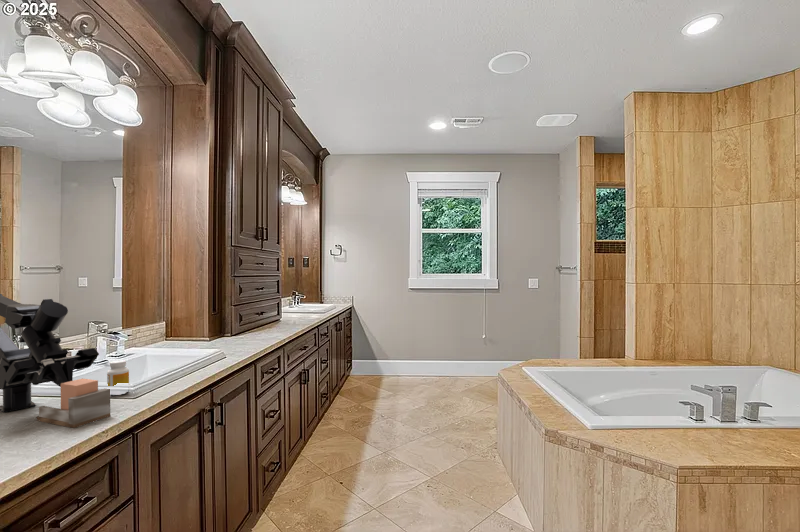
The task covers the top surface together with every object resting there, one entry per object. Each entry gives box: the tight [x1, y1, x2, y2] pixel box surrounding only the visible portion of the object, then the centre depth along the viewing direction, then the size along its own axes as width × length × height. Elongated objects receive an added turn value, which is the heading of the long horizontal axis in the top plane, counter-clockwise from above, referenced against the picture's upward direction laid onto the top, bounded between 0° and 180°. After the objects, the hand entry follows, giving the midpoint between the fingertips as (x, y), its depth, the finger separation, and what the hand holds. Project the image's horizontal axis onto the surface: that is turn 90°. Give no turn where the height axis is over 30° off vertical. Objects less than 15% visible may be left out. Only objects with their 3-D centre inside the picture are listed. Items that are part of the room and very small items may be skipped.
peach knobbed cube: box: [60, 378, 99, 410], centre depth 103 cm, size 7×5×8 cm
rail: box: [36, 388, 111, 429], centre depth 104 cm, size 14×8×7 cm, turn 68°
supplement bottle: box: [106, 359, 130, 386], centre depth 124 cm, size 5×5×10 cm
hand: (69, 389), depth 105 cm, fingers closed, pressing on peach knobbed cube
